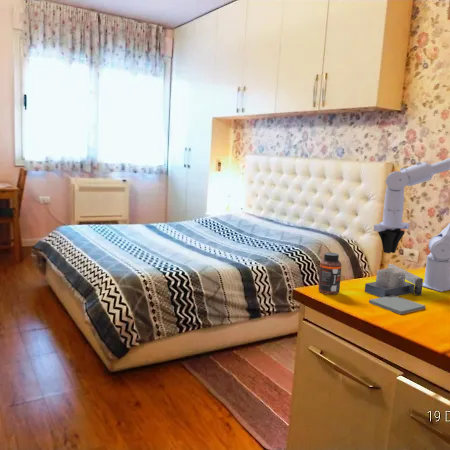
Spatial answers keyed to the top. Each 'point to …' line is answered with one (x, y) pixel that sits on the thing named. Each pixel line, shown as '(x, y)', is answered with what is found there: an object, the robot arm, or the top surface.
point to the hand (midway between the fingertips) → (389, 252)
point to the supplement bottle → (330, 274)
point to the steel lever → (411, 279)
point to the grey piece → (389, 289)
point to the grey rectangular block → (390, 277)
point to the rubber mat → (397, 304)
